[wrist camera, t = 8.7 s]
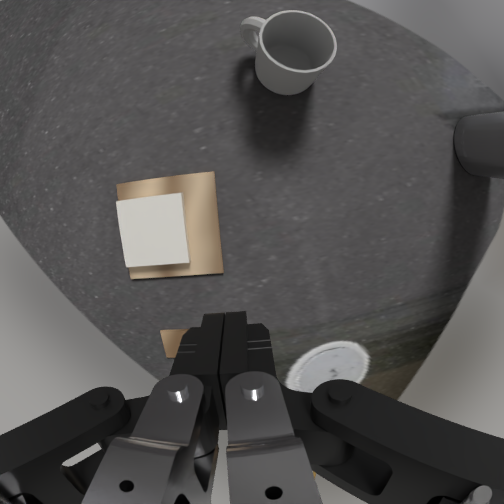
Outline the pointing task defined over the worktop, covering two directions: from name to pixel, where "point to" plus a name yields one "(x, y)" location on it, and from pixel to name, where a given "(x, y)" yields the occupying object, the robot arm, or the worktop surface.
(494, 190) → the worktop surface
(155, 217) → the tile
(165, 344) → the tan tapered flat part
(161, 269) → the board
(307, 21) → the cup
